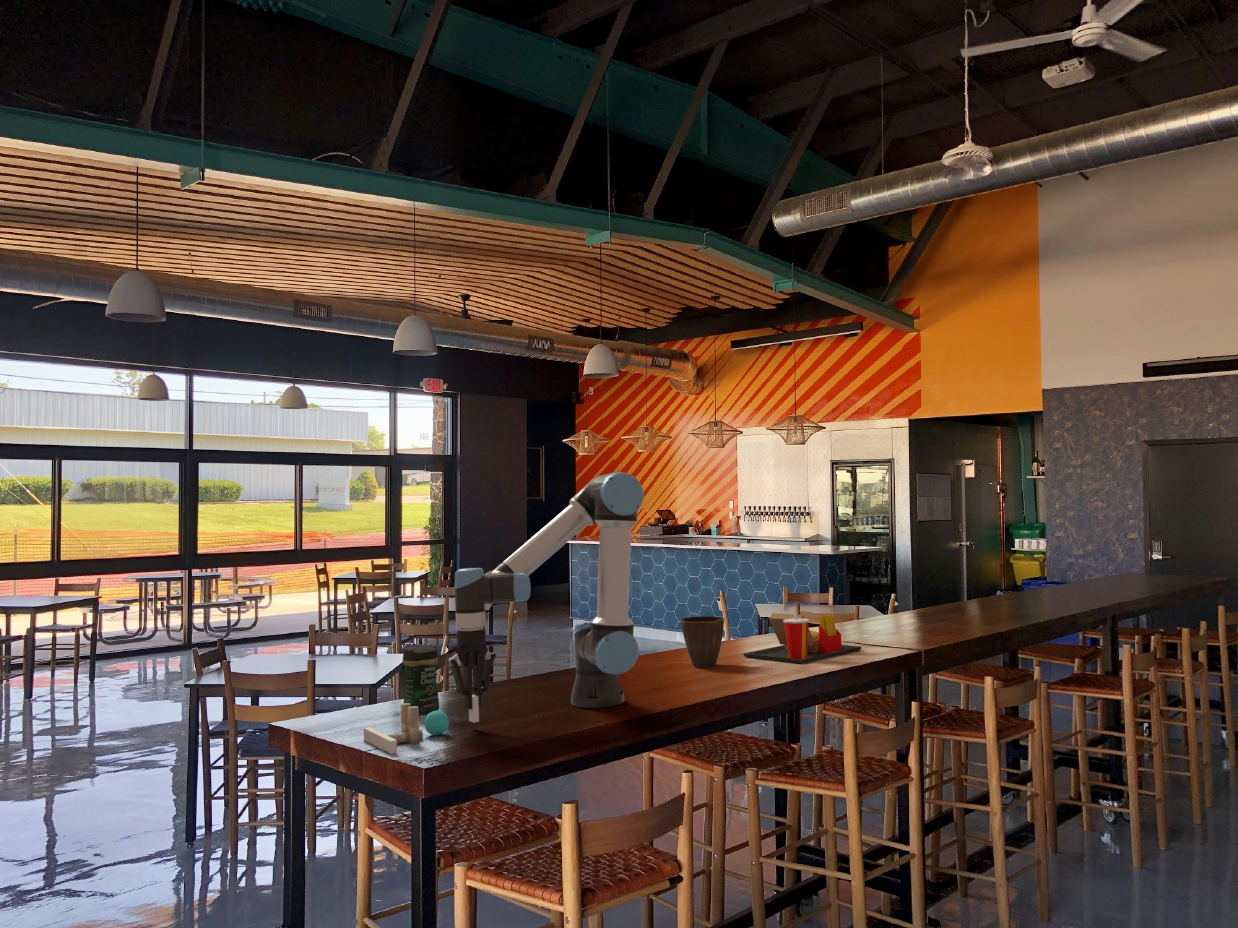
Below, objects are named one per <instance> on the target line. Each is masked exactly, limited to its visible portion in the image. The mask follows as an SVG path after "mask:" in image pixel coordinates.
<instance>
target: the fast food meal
mask: <svg viewBox="0 0 1238 928" xmlns="http://www.w3.org/2000/svg"><path fill="white" fill-rule="evenodd" d="M793 612H794V614H791V613H778V612H772V613H771V614H770V616H768V620H769V623H770V625H771V627H772V629H773V632H774V634H775V636H776V638H777V640H778V643H779V644H780V645H778V646H773V647H769V648H768V647H767V648H764V649H758V650H755V651H749V652H745V653H743V657H745V658H751V659H758V660H759V659H760V660H767V661H768V660H769V661H774V662H776V661H777V662H784V663H791V664H792V663H793V664H801V665H802V664H807V663H811V662H815V661H819V660H825V659H828V658H833V657H836V656H842V655H845V654H850V653H854V652H857V651H860V650H862V646H858V645H850V644H849V645H848V644H842V633H841V632H840V631H839V629H837V628H836V623H835V622H836V621H835V616H834V614H833V613H832V614H825V615H820V616H818V618H819V625H818V631H816V630H811V629H810V628H809V622H810V619H808V618H805V616H804V615H803V614H798V607H797V606H794V607H793Z"/></svg>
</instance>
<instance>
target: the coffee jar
mask: <svg viewBox="0 0 1238 928" xmlns="http://www.w3.org/2000/svg"><path fill="white" fill-rule="evenodd" d="M438 661H439V655H438V648H437V647H436V645H430V644H425V645H416V646H411V647H407V648H406V647H405V648H404V650H403V653H402V665H403V667H404V693H403V704H404V703H410V707H412V706H418V713H419V716H422V715H428V714H429V713H431V712H433V711H440V700H439V698H440V697H439V690H438V682H437V665H438Z"/></svg>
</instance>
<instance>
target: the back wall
mask: <svg viewBox="0 0 1238 928" xmlns="http://www.w3.org/2000/svg"><path fill="white" fill-rule="evenodd" d="M364 740H365V741H364ZM363 741H364V742H366V741H367V743H368V742H369V743H368V744H370V743H371V744H370V745H372V744H373V745H372V746H374V745H375V746H374V747H376V746H377V747H376V748H377V749H380V750H382V749H383V750H382V751H384V750H385V751H387V752H388V753H387V752H386V753H387V754H389V753H390V754H389V755H394V753H395V754H398V744H397V740H395V739H393V738H391V737H389V736H387V734H385V733H382V732H381V731H378V730H377V729H374V728H372V727H371V726H367V727H363ZM385 751H384V752H385Z"/></svg>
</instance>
